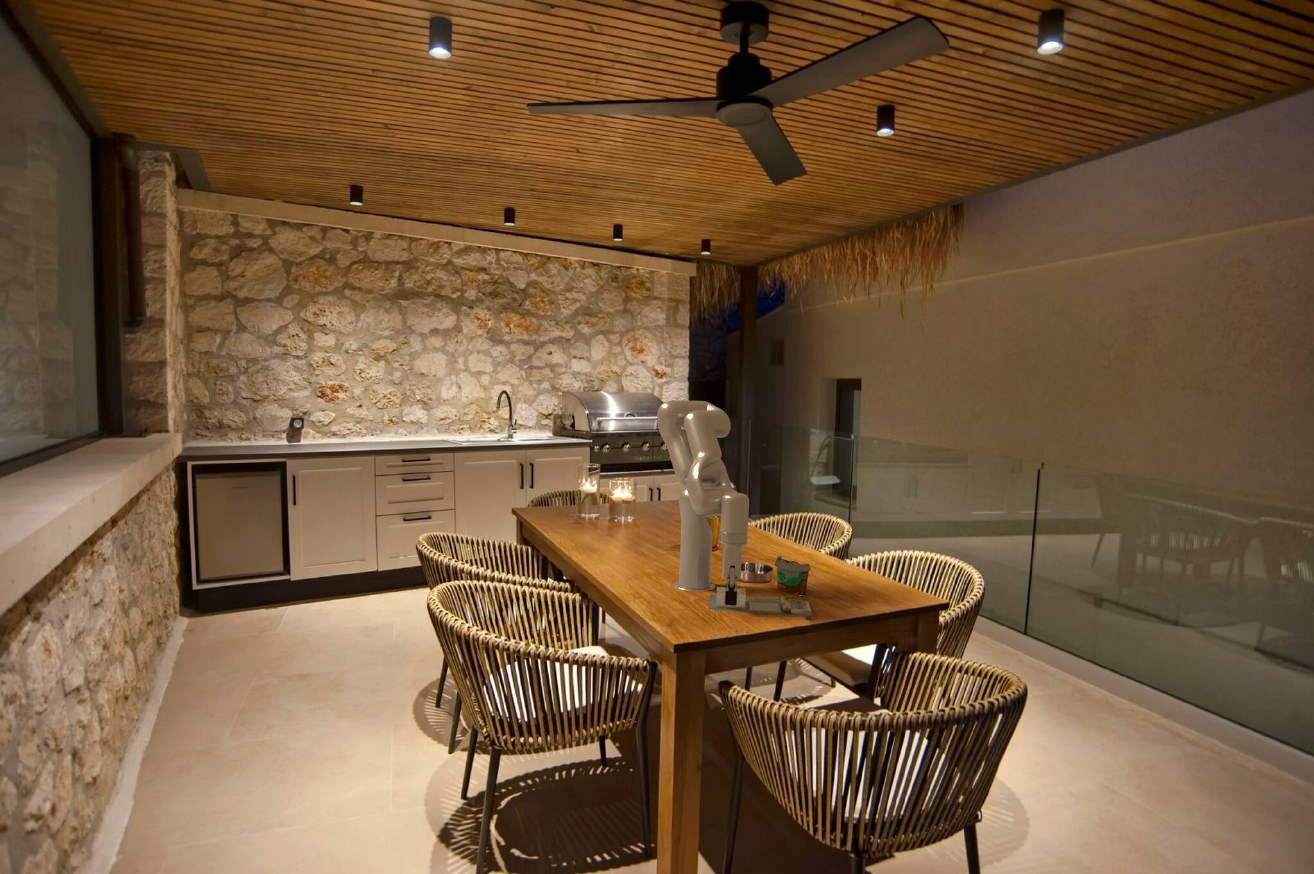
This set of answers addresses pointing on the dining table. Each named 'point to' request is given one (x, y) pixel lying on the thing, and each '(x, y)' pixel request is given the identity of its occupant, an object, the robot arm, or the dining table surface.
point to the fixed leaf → (795, 606)
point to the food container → (792, 576)
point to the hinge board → (758, 606)
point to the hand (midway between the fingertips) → (730, 600)
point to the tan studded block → (740, 598)
